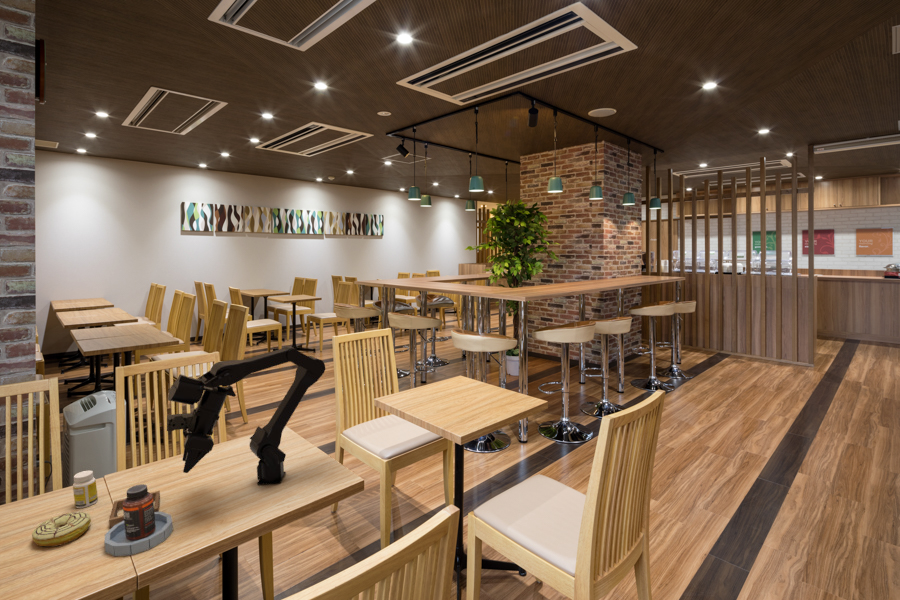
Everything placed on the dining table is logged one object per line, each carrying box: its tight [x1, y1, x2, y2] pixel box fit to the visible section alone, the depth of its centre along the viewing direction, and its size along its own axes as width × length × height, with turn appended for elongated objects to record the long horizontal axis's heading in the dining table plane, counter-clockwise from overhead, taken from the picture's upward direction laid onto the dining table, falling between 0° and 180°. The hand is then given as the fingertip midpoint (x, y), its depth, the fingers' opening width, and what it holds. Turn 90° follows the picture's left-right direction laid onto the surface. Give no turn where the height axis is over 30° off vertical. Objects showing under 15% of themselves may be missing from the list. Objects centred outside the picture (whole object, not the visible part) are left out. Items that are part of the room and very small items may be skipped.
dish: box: [103, 511, 174, 557], centre depth 106 cm, size 13×13×2 cm
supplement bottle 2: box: [122, 484, 156, 540], centre depth 106 cm, size 6×6×11 cm
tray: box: [108, 490, 161, 530], centre depth 116 cm, size 10×10×2 cm
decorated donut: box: [31, 511, 92, 547], centre depth 107 cm, size 10×11×4 cm
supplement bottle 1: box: [72, 470, 99, 509], centre depth 120 cm, size 5×5×8 cm
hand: (184, 466), depth 118 cm, fingers open, 9 cm apart
